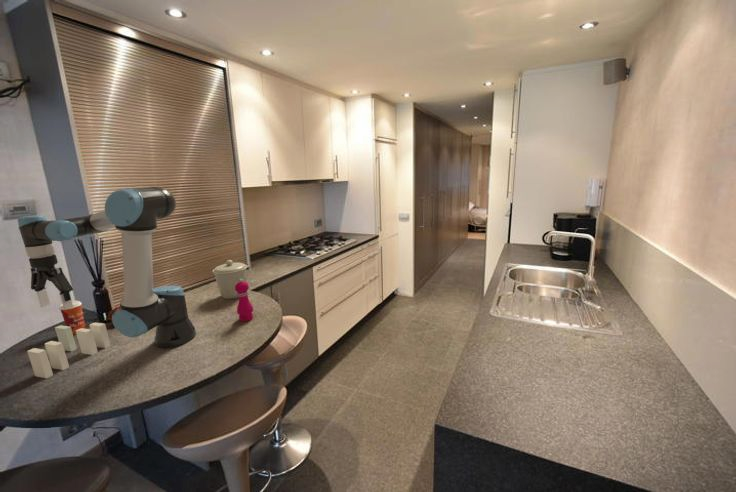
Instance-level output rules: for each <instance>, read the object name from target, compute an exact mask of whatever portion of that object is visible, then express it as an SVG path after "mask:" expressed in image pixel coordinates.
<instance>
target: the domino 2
mask: <svg viewBox="0 0 736 492" xmlns="http://www.w3.org/2000/svg"><path fill="white" fill-rule="evenodd" d="M54 329H55V332H56V337H57V340H58V342H61V343H62V344H63V347H64V351H65V352H66V351H67V352H73V351H75V350H78V348H77V344H76V341H75V337H74V335H73V333H72V330H71V327H69V326H66V325H61V324H59V325H58V326H55V327H54Z"/></svg>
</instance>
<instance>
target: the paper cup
mask: <svg viewBox="0 0 736 492" xmlns="http://www.w3.org/2000/svg"><path fill="white" fill-rule="evenodd" d="M72 304H73V307H72V308H69V309H67V310H64V307H63V304H62V303H61V304H60V305H59V308H58V309H59V310H60V313H61V315H62V317H63V320H64V323H65V326H69V327H71V330H72V333H73V336H74V335H77V334H76V330H78V329H80V328H83V329H86V322H85V318H84V313H83V308H82V304H83V303H82V302H81V301H80V300H72Z"/></svg>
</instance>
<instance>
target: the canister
mask: <svg viewBox="0 0 736 492" xmlns="http://www.w3.org/2000/svg"><path fill="white" fill-rule="evenodd" d="M247 268H248V265H247V264H245V263H243V262H234V261H233V260H232V259H228V260H226V262H225V263H223V264H220V265H218V266H216V267H215V268H214V269H213V270H212V273H213V274H214V278H215V280H216V284H217V288H218V291H219V293H220V296H221V297H222V299H226V300H233V299H239V297H238V296H237V291H236V290H235V285H236V284H237V283H238V282H239V279H243V282H247V283H248V281H247V272H248V271H247Z"/></svg>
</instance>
